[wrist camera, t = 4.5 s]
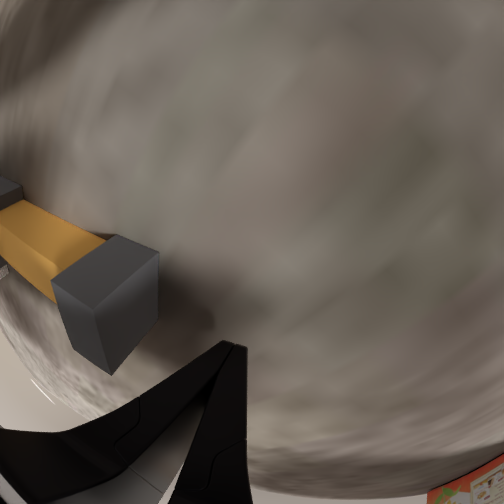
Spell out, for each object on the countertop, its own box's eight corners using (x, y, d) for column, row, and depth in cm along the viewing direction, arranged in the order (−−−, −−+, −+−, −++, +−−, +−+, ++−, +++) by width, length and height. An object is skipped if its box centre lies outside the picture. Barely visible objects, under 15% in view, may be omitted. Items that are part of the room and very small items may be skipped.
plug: (159, 244, 9) (76, 314, 6) (158, 324, 11) (104, 391, 8) (-6, 173, 11) (-50, 194, 8) (2, 225, 13) (-37, 249, 10)
